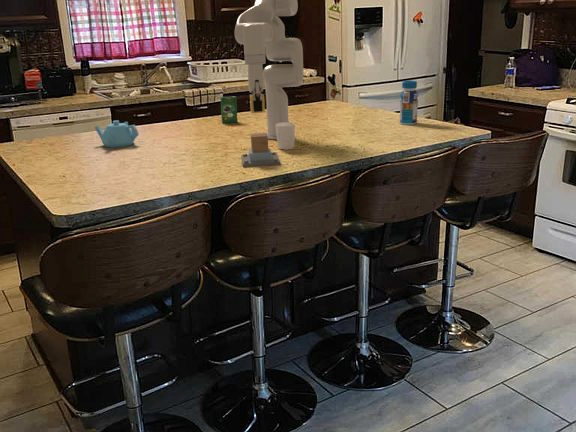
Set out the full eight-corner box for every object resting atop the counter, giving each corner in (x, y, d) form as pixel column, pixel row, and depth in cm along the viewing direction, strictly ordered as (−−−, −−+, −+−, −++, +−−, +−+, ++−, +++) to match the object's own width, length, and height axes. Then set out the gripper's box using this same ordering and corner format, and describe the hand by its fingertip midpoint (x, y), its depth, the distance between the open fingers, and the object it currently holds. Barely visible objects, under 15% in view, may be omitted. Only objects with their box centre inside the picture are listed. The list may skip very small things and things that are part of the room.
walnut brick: (251, 149, 232) (250, 133, 231) (267, 148, 233) (266, 132, 231) (252, 152, 227) (251, 136, 225) (268, 151, 227) (267, 135, 225)
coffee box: (237, 121, 313) (235, 95, 309) (238, 122, 311) (236, 96, 306) (221, 122, 312) (219, 96, 307) (222, 123, 309) (220, 97, 305)
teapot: (107, 150, 259) (103, 125, 255) (96, 144, 271) (92, 120, 267) (141, 145, 267) (138, 120, 263) (129, 139, 279) (126, 116, 275)
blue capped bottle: (396, 122, 294) (397, 80, 288) (411, 121, 297) (413, 79, 290) (404, 125, 287) (405, 82, 280) (420, 124, 289) (422, 81, 282)
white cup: (279, 150, 247) (278, 126, 243) (274, 147, 254) (273, 123, 251) (297, 149, 249) (297, 124, 245) (292, 145, 256) (291, 121, 252)
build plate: (241, 158, 237) (240, 147, 236) (276, 155, 238) (276, 145, 237) (242, 166, 224) (242, 155, 223) (280, 164, 225) (279, 153, 224)
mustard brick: (250, 110, 227) (249, 94, 225) (264, 110, 228) (263, 94, 226) (251, 113, 222) (250, 96, 220) (264, 112, 223) (264, 95, 221)
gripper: (243, 58, 227) (246, 107, 232) (245, 62, 211) (248, 114, 216) (263, 57, 227) (266, 106, 233) (267, 61, 211) (269, 113, 217)
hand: (257, 109), depth 225 cm, fingers closed on mustard brick, 5 cm apart
